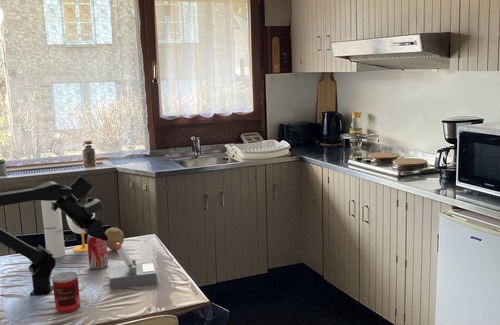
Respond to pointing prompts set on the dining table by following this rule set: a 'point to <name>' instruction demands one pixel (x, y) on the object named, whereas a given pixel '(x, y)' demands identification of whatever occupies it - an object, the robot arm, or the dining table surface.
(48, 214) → the cylindrical container
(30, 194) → the robot arm
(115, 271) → the switch box
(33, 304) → the dining table surface
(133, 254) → the dining table surface
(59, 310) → the canned food
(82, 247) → the cup
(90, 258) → the soda can
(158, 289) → the dining table surface
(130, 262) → the switch lever
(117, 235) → the natural sponge
